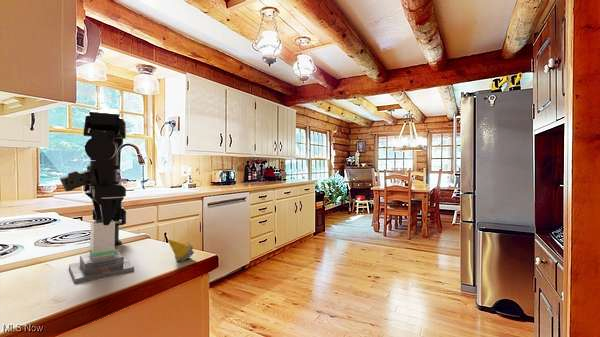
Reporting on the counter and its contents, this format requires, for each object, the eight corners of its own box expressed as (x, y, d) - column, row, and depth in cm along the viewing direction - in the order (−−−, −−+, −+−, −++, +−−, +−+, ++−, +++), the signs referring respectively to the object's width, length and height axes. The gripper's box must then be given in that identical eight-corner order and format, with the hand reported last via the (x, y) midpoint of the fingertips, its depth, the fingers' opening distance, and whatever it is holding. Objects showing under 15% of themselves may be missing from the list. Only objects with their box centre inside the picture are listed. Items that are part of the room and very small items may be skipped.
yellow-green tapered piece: (197, 262, 82) (173, 244, 76) (181, 268, 83) (157, 251, 77) (200, 247, 86) (178, 228, 80) (185, 253, 87) (162, 235, 82)
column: (89, 255, 74) (90, 220, 74) (110, 251, 77) (111, 218, 77) (92, 260, 71) (93, 223, 70) (114, 256, 74) (115, 221, 74)
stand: (69, 268, 74) (69, 254, 74) (122, 258, 82) (122, 246, 82) (75, 283, 65) (75, 268, 65) (134, 270, 74) (134, 257, 74)
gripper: (59, 159, 74) (58, 219, 75) (67, 160, 61) (65, 233, 61) (110, 160, 82) (109, 215, 82) (127, 162, 69) (125, 227, 69)
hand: (102, 222), depth 73 cm, fingers open, 9 cm apart
